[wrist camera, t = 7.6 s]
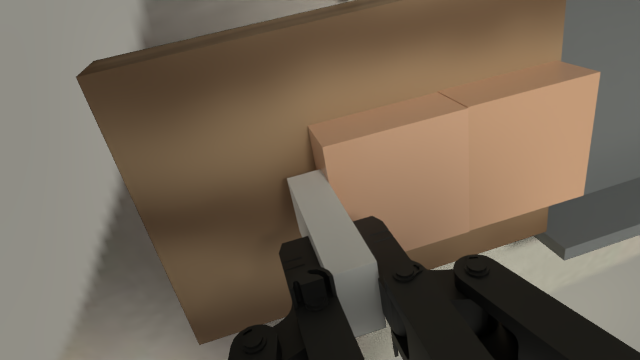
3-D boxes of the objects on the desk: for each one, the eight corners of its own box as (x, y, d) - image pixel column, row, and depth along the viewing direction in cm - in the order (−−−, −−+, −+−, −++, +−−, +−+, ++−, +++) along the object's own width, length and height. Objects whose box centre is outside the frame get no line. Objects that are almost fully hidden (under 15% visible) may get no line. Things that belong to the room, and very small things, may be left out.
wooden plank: (93, 60, 18) (75, 77, 15) (522, -39, 21) (569, -39, 18) (199, 304, 25) (199, 345, 22) (513, 206, 27) (546, 231, 25)
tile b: (437, 91, 19) (468, 106, 17) (556, 60, 20) (600, 71, 18) (442, 204, 22) (469, 230, 20) (546, 173, 23) (583, 195, 21)
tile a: (307, 125, 18) (322, 147, 16) (437, 92, 19) (468, 108, 17) (330, 239, 21) (345, 270, 19) (442, 205, 22) (469, 231, 20)
